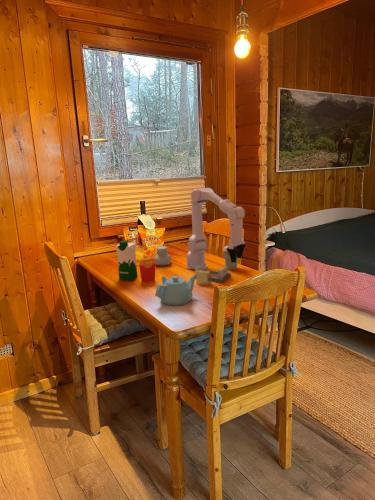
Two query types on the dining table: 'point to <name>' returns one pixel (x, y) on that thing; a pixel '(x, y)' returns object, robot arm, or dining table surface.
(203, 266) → the vise base
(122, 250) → the milk carton
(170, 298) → the teapot
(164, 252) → the air freshener
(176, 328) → the dining table surface
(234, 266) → the coffee cup
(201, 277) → the brass block
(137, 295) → the dining table surface
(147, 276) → the french fries
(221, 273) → the free jaw
